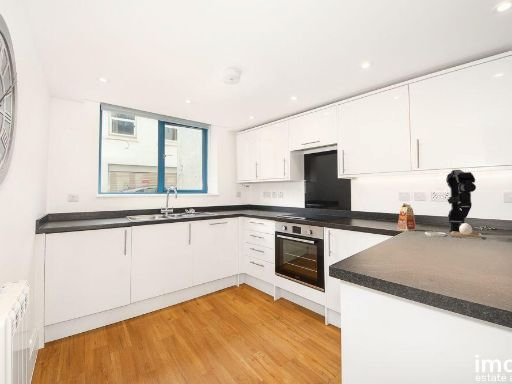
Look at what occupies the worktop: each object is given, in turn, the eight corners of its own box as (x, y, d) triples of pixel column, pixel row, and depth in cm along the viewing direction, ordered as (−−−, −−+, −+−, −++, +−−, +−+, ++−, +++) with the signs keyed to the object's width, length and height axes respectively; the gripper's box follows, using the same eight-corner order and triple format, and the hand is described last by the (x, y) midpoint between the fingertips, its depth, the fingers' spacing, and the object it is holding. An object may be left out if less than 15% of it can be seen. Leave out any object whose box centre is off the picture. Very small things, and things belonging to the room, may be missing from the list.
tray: (452, 234, 159) (451, 231, 159) (481, 236, 150) (481, 233, 150) (450, 236, 150) (450, 233, 150) (481, 239, 141) (481, 235, 141)
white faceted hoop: (426, 233, 164) (426, 231, 165) (446, 234, 157) (446, 232, 157) (424, 235, 157) (424, 232, 157) (444, 236, 150) (444, 234, 150)
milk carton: (407, 230, 177) (406, 203, 177) (396, 229, 186) (396, 202, 186) (416, 230, 179) (416, 203, 180) (406, 228, 188) (405, 202, 188)
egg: (462, 234, 154) (462, 222, 154) (474, 235, 149) (474, 223, 149) (457, 235, 151) (457, 222, 151) (469, 236, 146) (469, 223, 146)
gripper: (449, 192, 163) (449, 215, 163) (447, 192, 149) (447, 217, 149) (471, 192, 155) (471, 216, 155) (471, 192, 142) (471, 218, 141)
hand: (465, 217), depth 150 cm, fingers open, 9 cm apart
